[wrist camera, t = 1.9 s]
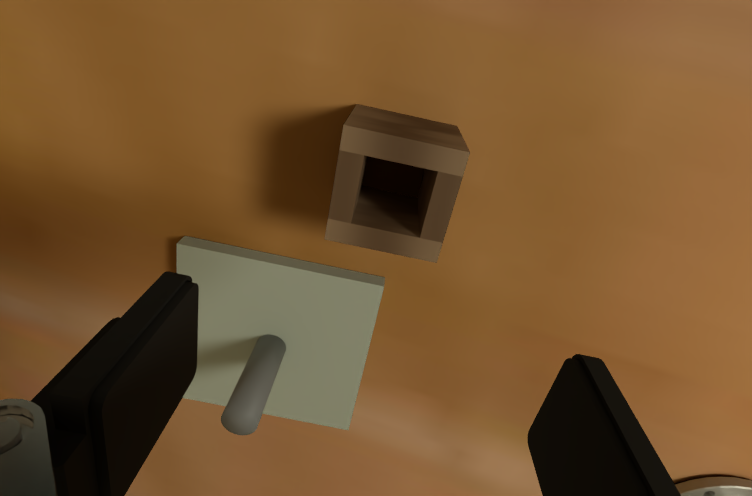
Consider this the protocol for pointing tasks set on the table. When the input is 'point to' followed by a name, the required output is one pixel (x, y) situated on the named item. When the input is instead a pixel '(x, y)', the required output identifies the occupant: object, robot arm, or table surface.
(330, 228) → the collar
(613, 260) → the table surface
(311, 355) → the post board
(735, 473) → the table surface
